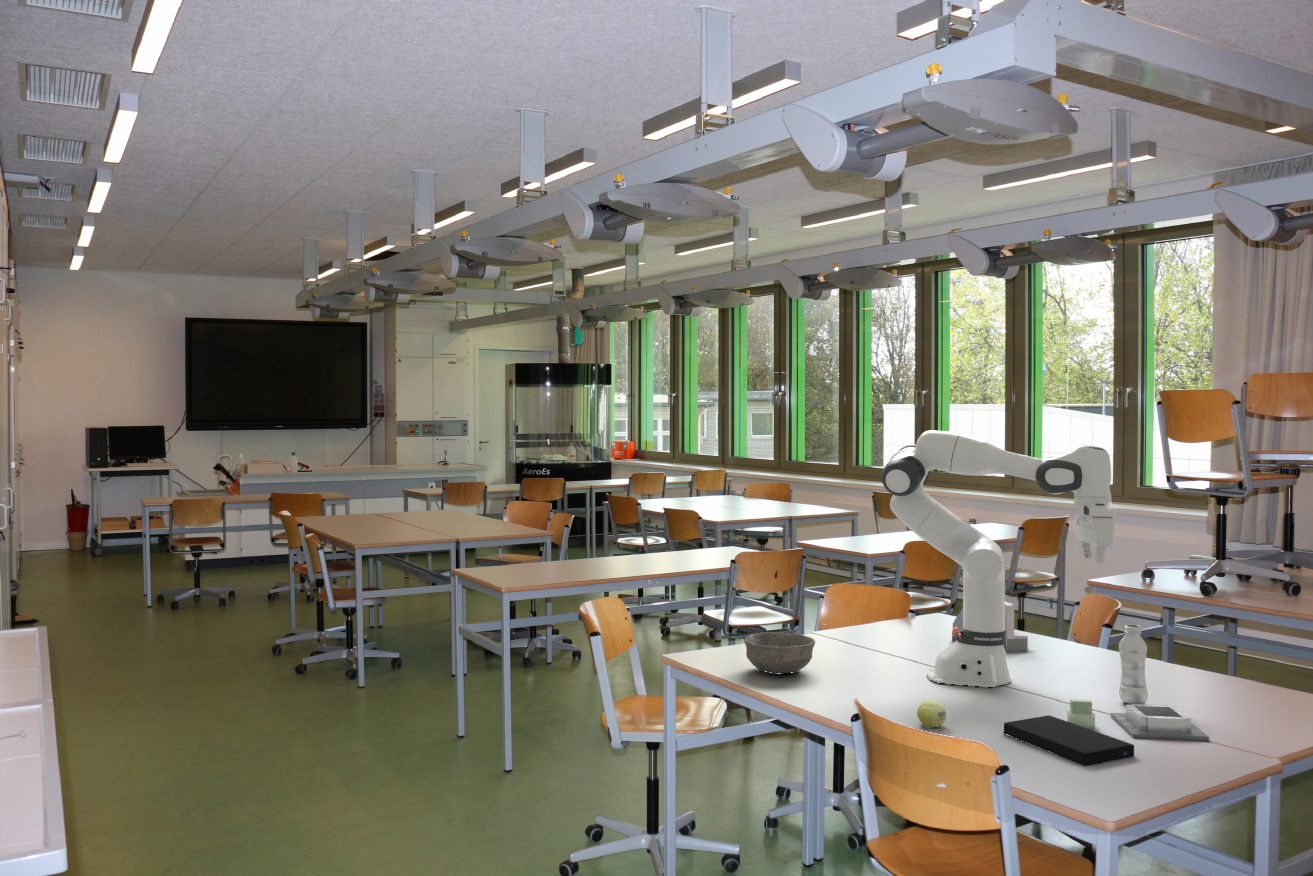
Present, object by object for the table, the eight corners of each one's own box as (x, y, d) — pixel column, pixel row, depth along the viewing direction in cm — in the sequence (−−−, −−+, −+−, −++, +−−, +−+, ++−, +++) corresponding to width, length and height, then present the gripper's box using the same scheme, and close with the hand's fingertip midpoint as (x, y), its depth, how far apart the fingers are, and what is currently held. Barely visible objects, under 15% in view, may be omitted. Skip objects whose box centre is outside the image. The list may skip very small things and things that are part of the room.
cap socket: (1133, 737, 215) (1132, 720, 215) (1110, 716, 231) (1110, 700, 231) (1209, 741, 213) (1208, 723, 213) (1181, 719, 228) (1181, 703, 228)
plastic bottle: (1137, 709, 237) (1136, 629, 237) (1113, 702, 243) (1112, 624, 243) (1153, 705, 240) (1153, 627, 240) (1129, 699, 246) (1129, 622, 246)
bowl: (830, 674, 273) (830, 639, 273) (779, 686, 261) (779, 650, 261) (780, 660, 290) (779, 628, 290) (729, 671, 277) (729, 637, 277)
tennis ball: (936, 703, 221) (948, 696, 226) (909, 702, 225) (922, 696, 230) (940, 731, 220) (952, 724, 225) (913, 729, 224) (926, 722, 230)
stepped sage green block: (1071, 729, 222) (1071, 703, 222) (1064, 721, 228) (1064, 696, 228) (1098, 730, 221) (1098, 704, 221) (1090, 722, 227) (1090, 697, 227)
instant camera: (1032, 653, 298) (1032, 605, 298) (966, 653, 298) (966, 606, 298) (1008, 638, 319) (1007, 594, 319) (946, 639, 319) (946, 594, 319)
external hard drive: (1050, 727, 224) (1050, 715, 224) (1134, 758, 203) (1134, 744, 203) (1003, 735, 219) (1003, 722, 219) (1085, 768, 197) (1085, 753, 197)
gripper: (1068, 504, 257) (1068, 555, 257) (1092, 510, 237) (1092, 565, 237) (1092, 504, 256) (1092, 555, 256) (1118, 510, 236) (1119, 566, 236)
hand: (1092, 560), depth 246 cm, fingers open, 8 cm apart
